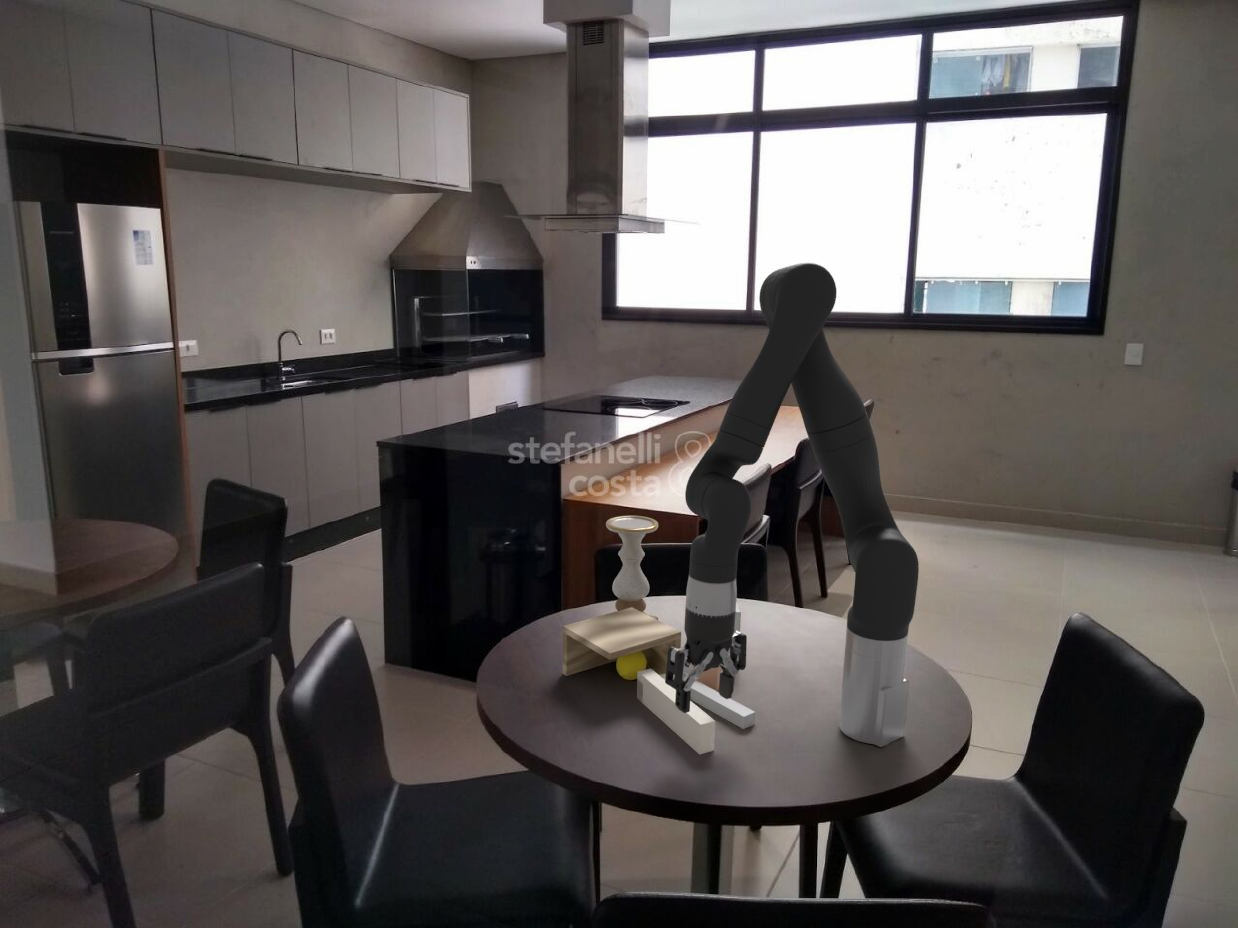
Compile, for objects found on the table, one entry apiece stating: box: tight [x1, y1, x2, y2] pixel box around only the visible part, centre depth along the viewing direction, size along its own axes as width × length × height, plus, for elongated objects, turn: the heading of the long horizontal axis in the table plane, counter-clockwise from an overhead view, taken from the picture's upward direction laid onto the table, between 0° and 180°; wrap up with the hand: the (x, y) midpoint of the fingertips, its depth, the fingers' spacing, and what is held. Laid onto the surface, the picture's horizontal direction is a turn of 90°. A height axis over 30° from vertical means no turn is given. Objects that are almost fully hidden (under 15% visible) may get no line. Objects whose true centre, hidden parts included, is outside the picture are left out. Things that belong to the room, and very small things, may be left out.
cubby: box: [562, 607, 682, 677], centre depth 157 cm, size 14×16×9 cm
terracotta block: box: [692, 655, 730, 692], centre depth 156 cm, size 5×5×5 cm
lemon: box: [615, 651, 647, 681], centre depth 158 cm, size 7×5×5 cm
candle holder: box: [605, 515, 659, 621], centre depth 173 cm, size 11×11×24 cm
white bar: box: [636, 668, 716, 755], centre depth 143 cm, size 20×9×5 cm, turn 27°
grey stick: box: [690, 681, 756, 730], centre depth 147 cm, size 14×3×2 cm, turn 38°
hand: (704, 703), depth 136 cm, fingers open, 8 cm apart
